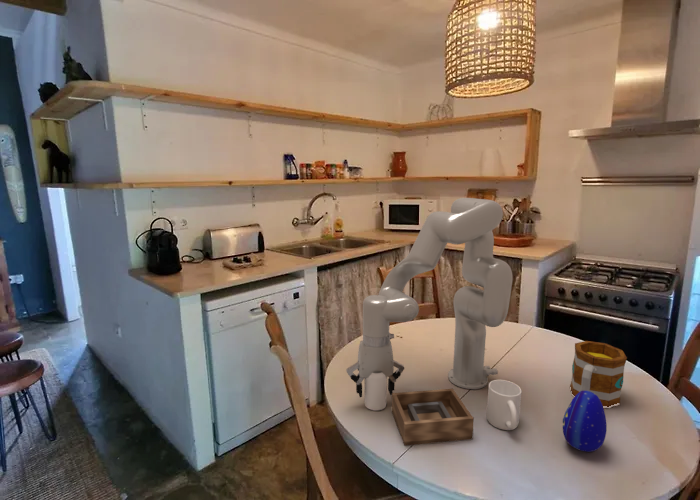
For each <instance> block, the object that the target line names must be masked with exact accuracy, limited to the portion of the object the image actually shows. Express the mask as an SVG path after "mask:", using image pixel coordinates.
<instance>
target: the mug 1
mask: <svg viewBox="0 0 700 500" xmlns="http://www.w3.org/2000/svg"><path fill="white" fill-rule="evenodd" d="M487 392H488V393H487V403H486V404H487V406H486V419H487V422H488V423H489V424H490V425H491V426H493V427H494V428H496V429H499V430H502V431H503V430H504V431H512V430H514V429H516V428H517V427H518V426H519V422H520V412H521V401H522V389H521V387H520V385H518V384H516V383H515V382H512V381H510V380H506V379H494V380H491V381H490V382H488V391H487Z"/></svg>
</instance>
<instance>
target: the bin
mask: <svg viewBox="0 0 700 500" xmlns="http://www.w3.org/2000/svg"><path fill="white" fill-rule="evenodd" d="M391 414H392V416H393V418H394V422H395V425H396V427H397V430H398V433H399V436H400V437H401V440H402V443H403V446H404V447H405V446H413V445H425V444H426V445H427V444H435V443H444V442H445V443H447V442H457V441H468V440H473V435H474V433H473V432H474V420H475V418H474V417H473V415H472V414H471V412H470V411H469V409H468V408H467V407H466V405H465V404H464V402H463V401H462V400H461V398H460V397H459V395H458V394H457V392H456V391H455V390H454V388H442V389H431V390H416V391H414V390H413V391H401V392H393V393H392V395H391Z"/></svg>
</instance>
